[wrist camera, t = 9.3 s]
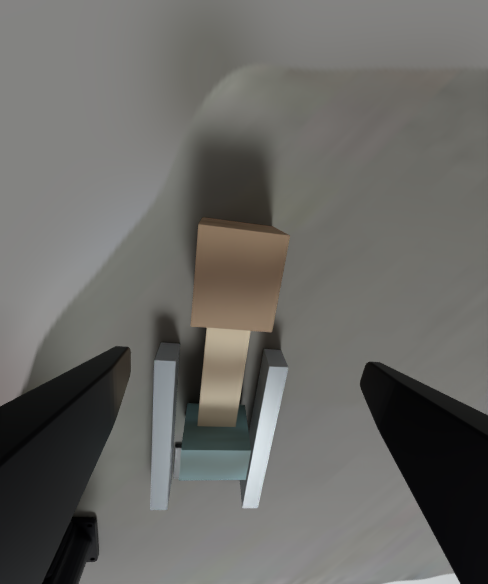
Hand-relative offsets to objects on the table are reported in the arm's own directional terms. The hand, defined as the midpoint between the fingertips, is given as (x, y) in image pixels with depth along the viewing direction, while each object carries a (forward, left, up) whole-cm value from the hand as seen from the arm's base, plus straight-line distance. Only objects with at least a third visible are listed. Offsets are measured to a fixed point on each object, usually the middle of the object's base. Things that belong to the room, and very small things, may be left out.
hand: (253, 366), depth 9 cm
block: (+1, 0, -12) cm, 12 cm away
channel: (-15, 0, -12) cm, 19 cm away
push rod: (-9, 0, -11) cm, 14 cm away
